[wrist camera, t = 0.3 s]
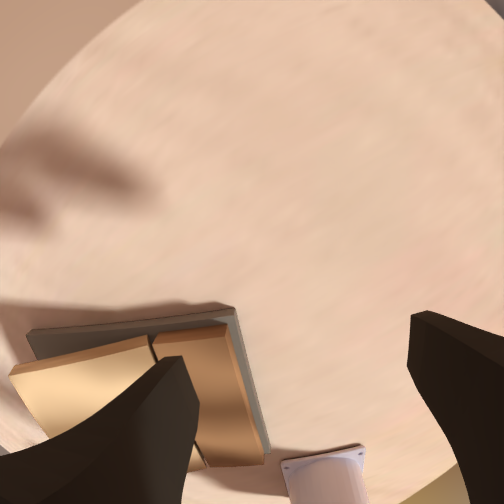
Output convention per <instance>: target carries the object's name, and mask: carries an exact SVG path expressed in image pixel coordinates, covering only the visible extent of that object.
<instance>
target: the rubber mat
mask: <svg viewBox="0 0 504 504" xmlns="http://www.w3.org/2000/svg"><path fill="white" fill-rule="evenodd" d="M221 324H228V327H229V331H230V335H231V339H232V342H233V346H234V350H235V354H236V357H237V361H238V365H239V368H240V372H241V375H242V379H243V382H244V386H245V390H246V393H247V396H248V400H249V403H250V407H251V410H252V414H253V417H254V420H255V424H256V427H257V430H258V434H259V437H260V440H261V443H262V447H263V450H264V454H271V447H270V442H269V438H268V434H267V431H266V427H265V423H264V420H263V416H262V412H261V409H260V405H259V401H258V397H257V393H256V389H255V386H254V382H253V378H252V374H251V370H250V366H249V362H248V358H247V354H246V350H245V346H244V342H243V338H242V334H241V330H240V326H239V322H238V318H237V313H236V309H235V308H230V309H224V310H217V311H210V312H203V313H196V314H189V315H181V316H174V317H166V318H158V319H149V320H141V321H132V322H122V323H113V324H102V325H91V326H80V327H67V328H53V329H37V330H31V331H30V332H29V333H28V334H26V337H27V339H28V341H29V344H30V346H31V348H32V350H33V352H34V354H35V356H36V358H37V360H43V359H48V358H52V357H57V356H62V355H66V354H70V353H75V352H79V351H83V350H87V349H92V348H96V347H100V346H104V345H108V344H112V343H116V342H120V341H124V340H128V339H131V338H135V337H139V336H143V335H148V338H149V340H150V343H151V345H152V344H153V342H154V340H155V338H156V337H157V335H158V333H159V332H165V331H174V330H182V329H191V328H199V327H206V326H214V325H221ZM152 348H153V346H152ZM153 350H154V348H153ZM154 353H155V351H154ZM155 355H156V353H155ZM156 358H157V356H156ZM157 360H158V358H157ZM195 442H196V441H195ZM196 444H197V442H196ZM197 446H198V444H197ZM198 448H199V446H198ZM199 449H200V448H199ZM200 451H201V450H200ZM201 453H202V452H201ZM202 455H203V454H202ZM203 458H205V457H204V455H203Z"/></svg>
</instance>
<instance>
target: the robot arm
mask: <svg viewBox="0 0 504 504" xmlns="http://www.w3.org/2000/svg"><path fill="white" fill-rule="evenodd" d="M407 368H408V370H409V372H410V374H411V377H412V379H413V381H414V383H415V386H416V388H417V390H418V392H419V393H420V395H421V396H422V398H423V400H424V401H425V403H426V405H427V406H428V408H429V409H430V411H431V413H432V414H433V416H434V417H435V419H436V421H437V422H438V424H439V426H440V427H441V429H442V430H443V432H444V434H445V435H446V437H447V439H448V441H449V443H450V445H451V447H452V449H453V452H454V454H455V457H456V459H457V462H458V464H459V467H460V470H461V473H462V476H463V479H464V482H465V485H466V488H467V491H468V496H469V500H470V504H504V337H503V336H499V335H496V334H493V333H490V332H487V331H484V330H481V329H479V328H476V327H473V326H470V325H468V324H465V323H462V322H460V321H457V320H455V319H452V318H449V317H447V316H444V315H441V314H438V313H435V312H432V311H428V310H426V311H423V312H419V313H416V314H412V315H411V322H410V338H409V350H408V360H407ZM199 408H200V401H199V399H198V396H197V394H196V391H195V389H194V386H193V384H192V381H191V378H190V376H189V373H188V370H187V367H186V365H185V362H184V359H183V356H182V355H180V356H167V357H163V358H162V359H161V360H159V361H158V362H157V363H156V364H154V365H153V366H152V367H151V368H150V369H149V370H147V371H146V372H145V373H144V374H143V375H142V376H141V377H139V378H138V379H137V380H136V381H135V382H134V383H132V384H131V385H130V386H129V387H128V388H127V389H125V390H124V391H123V392H122V393H121V394H119V395H118V396H117V397H116V398H114V399H113V400H112V401H110V402H109V403H108V404H107V405H105V406H104V407H103V408H101V409H100V410H99V411H97V412H96V413H95V414H93V415H92V416H90V417H89V418H87V419H86V420H84V421H82V422H81V423H79V424H78V425H76V426H74V427H73V428H71V429H69V430H67V431H65V432H63V433H61V434H59V435H57V436H55V437H53V438H51V439H49V440H47V441H45V442H43V443H40V444H38V445H35V446H32V447H30V448H27V449H24V450H21V451H18V452H14V453H11V454H7V455H3V456H0V504H181V499H182V492H183V487H184V482H185V478H186V474H187V470H188V466H189V462H190V458H191V454H192V450H193V446H194V442H195V437H196V433H197V429H198V420H199ZM365 452H366V448H365V446H363V445H361V446H357V447H353V448H348V449H344V450H340V451H335V452H330V453H325V454H320V455H315V456H309V457H303V458H297V459H290V460H284V461H282V462H281V469H282V472H283V476H284V480H285V484H286V487H287V491H288V495H289V498H290V501H291V504H370V502H369V498H368V494H367V490H366V487H365V483H364V479H363V476H362V474H363V467H364V460H365Z"/></svg>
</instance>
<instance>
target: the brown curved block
mask: <svg viewBox="0 0 504 504" xmlns="http://www.w3.org/2000/svg"><path fill="white" fill-rule="evenodd" d="M152 346H153V348H154V351H155V353H156V356H157V358H158V361H159V360H161V359H162V358H163V357H167V356H180V355H182V356H183V359H184V362H185V365H186V367H187V370H188V373H189V376H190V378H191V381H192V384H193V386H194V389H195V391H196V394H197V396H198V399H199V401H200V408H199V420H198V429H197V433H196V437H195V441H196V442H197V444H198V446H199V448H200V450H201V452H202V454H203V455H204V457H205V459H206V461H207V463H208V464H209V466H210V467H236V466H252V465H263V464H264V450H263V447H262V443H261V440H260V437H259V434H258V430H257V427H256V424H255V420H254V417H253V414H252V410H251V407H250V403H249V400H248V396H247V393H246V390H245V386H244V382H243V379H242V375H241V372H240V368H239V365H238V361H237V357H236V354H235V350H234V346H233V342H232V339H231V335H230V331H229V327H228V324H221V325H214V326H206V327H199V328H191V329H182V330H174V331H165V332H159V333H158V335H157V337H156V338H155V340H154V342H153V344H152Z"/></svg>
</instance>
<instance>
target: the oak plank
mask: <svg viewBox="0 0 504 504" xmlns="http://www.w3.org/2000/svg"><path fill="white" fill-rule="evenodd" d="M157 362H158V360H157V358H156V355H155V353H154V350H153V348H152V345H151V343H150V340H149V338H148V335H143V336H139V337H135V338H131V339H128V340H124V341H120V342H116V343H112V344H108V345H104V346H100V347H96V348H92V349H87V350H83V351H79V352H75V353H70V354H66V355H62V356H57V357H52V358H48V359H43V360H38V361H34V362H29V363H24V364H19V365H15V366H14V367H13V369H12V370H11V372H10V374H9V375H8V377H9V379H10V380H11V382H12V384H13V385H14V387H15V389H16V390H17V392H18V394H19V395H20V397H21V399H22V400H23V402H24V403H25V405H26V406H27V408H28V409H29V411H30V412H31V414H32V415H33V417H34V418H35V420H36V421H37V422H38V424H39V425H40V427H41V428H42V429H43V431H44V432H45V433H46V435H47V436H48V437H49V439H51V438H53V437H55V436H57V435H59V434H61V433H63V432H65V431H67V430H69V429H71V428H73V427H74V426H76V425H78V424H79V423H81V422H82V421H84V420H86V419H87V418H89V417H90V416H92V415H93V414H95V413H96V412H97V411H99V410H100V409H101V408H103V407H104V406H105V405H107V404H108V403H109V402H110V401H112V400H113V399H114V398H116V397H117V396H118V395H119V394H121V393H122V392H123V391H124V390H125V389H127V388H128V387H129V386H130V385H131V384H132V383H134V382H135V381H136V380H137V379H138V378H139V377H141V376H142V375H143V374H144V373H145V372H146V371H147V370H149V369H150V368H151V367H152V366H153V365H154V364H156V363H157ZM204 468H207V467H206V464H205V461H204V458H203V455H202V453H201V451H200V449H199V448H198V446H197V444H196V442H194V446H193V450H192V454H191V458H190V462H189V466H188V470H187V473H188V472H192V471H196V470H200V469H204Z"/></svg>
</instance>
